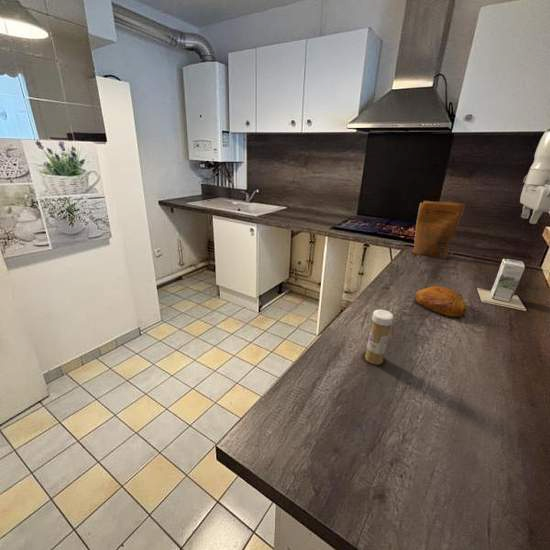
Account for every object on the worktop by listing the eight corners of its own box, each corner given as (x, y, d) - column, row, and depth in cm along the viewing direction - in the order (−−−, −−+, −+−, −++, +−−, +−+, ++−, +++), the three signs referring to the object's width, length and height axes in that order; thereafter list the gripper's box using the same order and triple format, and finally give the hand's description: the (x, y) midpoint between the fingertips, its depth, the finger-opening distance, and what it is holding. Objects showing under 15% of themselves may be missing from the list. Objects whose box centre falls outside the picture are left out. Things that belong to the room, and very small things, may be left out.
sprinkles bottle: (360, 356, 75) (369, 310, 69) (374, 352, 76) (384, 307, 71) (373, 367, 71) (382, 320, 65) (387, 363, 73) (398, 316, 67)
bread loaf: (448, 328, 92) (459, 308, 88) (406, 301, 103) (414, 282, 99) (471, 315, 99) (482, 296, 95) (430, 291, 110) (437, 273, 106)
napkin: (516, 296, 110) (517, 295, 110) (526, 311, 99) (526, 310, 99) (476, 288, 115) (477, 287, 115) (481, 302, 105) (481, 301, 104)
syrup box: (508, 297, 108) (522, 260, 102) (510, 303, 103) (525, 265, 98) (489, 293, 111) (503, 257, 105) (491, 299, 106) (505, 262, 100)
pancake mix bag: (449, 261, 144) (465, 204, 133) (408, 254, 153) (420, 199, 141) (449, 257, 149) (465, 202, 138) (410, 250, 158) (422, 198, 147)
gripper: (568, 182, 87) (550, 228, 92) (545, 177, 104) (530, 216, 109) (541, 181, 89) (525, 225, 94) (523, 176, 106) (510, 214, 111)
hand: (528, 220), depth 102 cm, fingers open, 8 cm apart
